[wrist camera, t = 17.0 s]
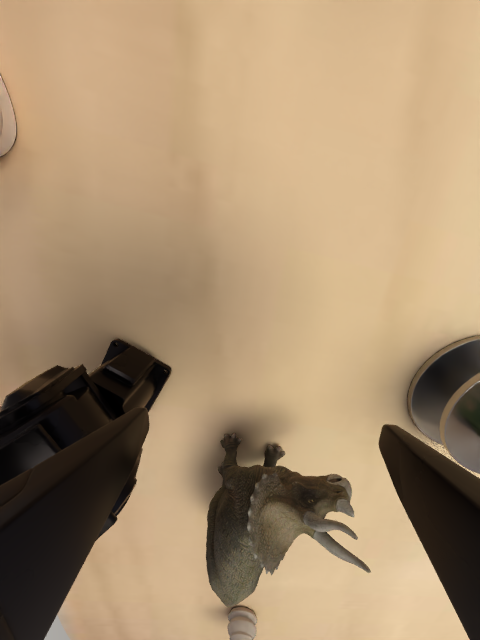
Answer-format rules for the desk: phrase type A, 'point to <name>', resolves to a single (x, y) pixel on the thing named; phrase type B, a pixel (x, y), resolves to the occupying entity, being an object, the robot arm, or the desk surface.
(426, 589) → the desk surface
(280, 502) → the toy dinosaur
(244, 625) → the rook chess piece
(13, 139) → the white architectural building model
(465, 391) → the stand
